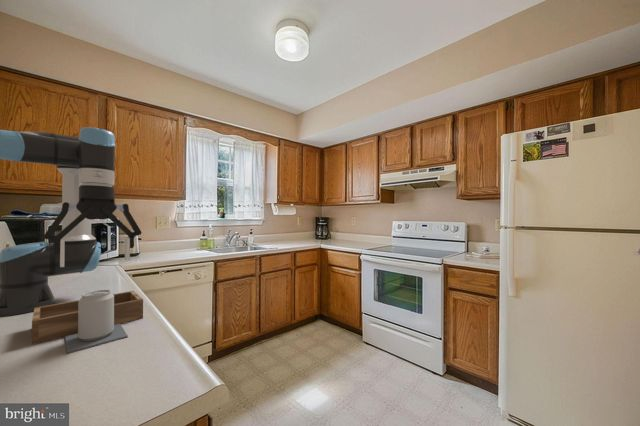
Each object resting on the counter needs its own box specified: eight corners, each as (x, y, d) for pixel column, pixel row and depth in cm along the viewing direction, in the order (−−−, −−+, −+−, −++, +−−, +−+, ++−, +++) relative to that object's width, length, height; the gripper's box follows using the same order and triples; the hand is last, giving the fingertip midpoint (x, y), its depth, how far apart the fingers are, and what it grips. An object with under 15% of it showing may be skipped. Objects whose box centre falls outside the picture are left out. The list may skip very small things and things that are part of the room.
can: (93, 343, 67) (93, 297, 67) (70, 340, 69) (70, 295, 69) (120, 331, 75) (120, 289, 75) (99, 328, 76) (99, 287, 76)
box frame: (34, 327, 78) (34, 307, 78) (133, 307, 95) (133, 290, 95) (31, 344, 68) (31, 321, 68) (143, 318, 85) (143, 299, 85)
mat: (65, 337, 72) (65, 336, 72) (119, 324, 80) (119, 323, 80) (66, 353, 63) (66, 352, 63) (127, 337, 72) (127, 335, 72)
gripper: (28, 180, 60) (28, 272, 60) (153, 188, 78) (152, 258, 78) (30, 183, 66) (30, 267, 66) (146, 189, 84) (146, 256, 83)
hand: (96, 262), depth 72 cm, fingers open, 13 cm apart
